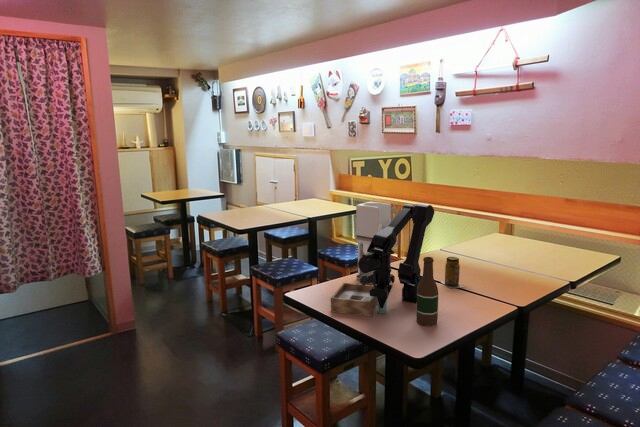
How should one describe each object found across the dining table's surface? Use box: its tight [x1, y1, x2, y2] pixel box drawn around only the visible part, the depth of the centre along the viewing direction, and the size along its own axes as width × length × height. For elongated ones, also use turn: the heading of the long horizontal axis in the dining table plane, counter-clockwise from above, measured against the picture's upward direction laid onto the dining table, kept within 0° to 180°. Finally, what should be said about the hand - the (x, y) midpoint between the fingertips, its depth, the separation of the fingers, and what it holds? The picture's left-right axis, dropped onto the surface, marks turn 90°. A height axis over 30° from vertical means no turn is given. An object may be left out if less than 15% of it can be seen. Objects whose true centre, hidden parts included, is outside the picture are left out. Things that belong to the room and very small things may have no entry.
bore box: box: [330, 282, 378, 317], centre depth 176 cm, size 16×18×6 cm
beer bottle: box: [415, 256, 439, 327], centre depth 158 cm, size 8×8×24 cm
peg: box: [377, 299, 388, 314], centre depth 170 cm, size 3×3×8 cm
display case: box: [355, 201, 392, 286], centre depth 203 cm, size 11×11×35 cm
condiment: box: [440, 256, 465, 289], centre depth 196 cm, size 7×8×12 cm
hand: (382, 306), depth 170 cm, fingers closed on peg, 3 cm apart
